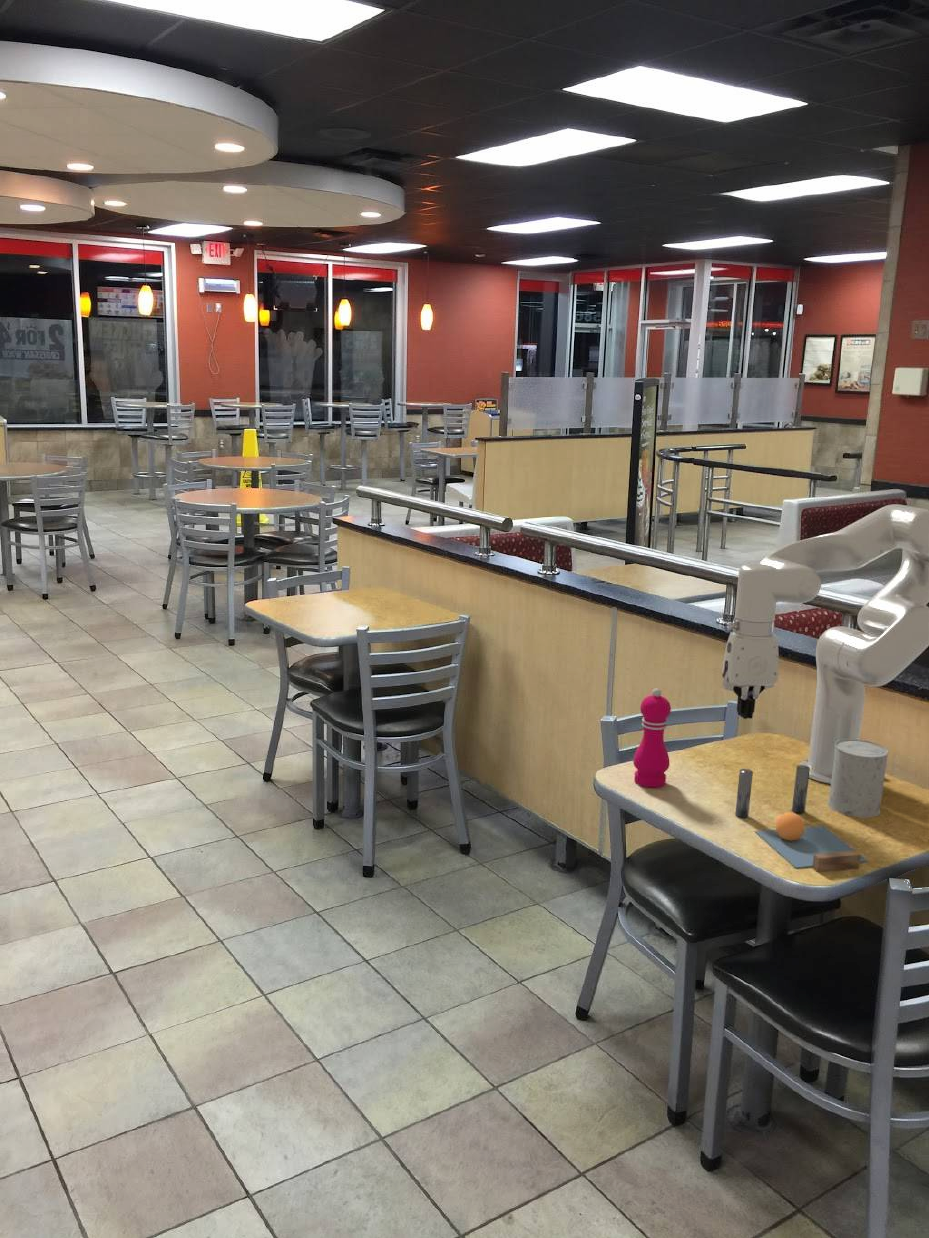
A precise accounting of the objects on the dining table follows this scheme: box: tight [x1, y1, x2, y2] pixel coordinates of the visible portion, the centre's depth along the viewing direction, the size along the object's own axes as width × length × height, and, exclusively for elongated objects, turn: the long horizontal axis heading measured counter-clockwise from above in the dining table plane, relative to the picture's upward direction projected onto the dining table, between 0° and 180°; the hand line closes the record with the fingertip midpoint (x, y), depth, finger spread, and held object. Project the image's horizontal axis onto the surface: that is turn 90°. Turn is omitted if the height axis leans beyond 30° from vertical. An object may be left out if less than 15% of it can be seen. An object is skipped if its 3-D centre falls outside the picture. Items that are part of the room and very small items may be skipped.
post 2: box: [791, 764, 810, 815], centre depth 194 cm, size 2×2×9 cm
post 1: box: [734, 768, 754, 819], centre depth 191 cm, size 2×2×9 cm
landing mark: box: [754, 825, 869, 869], centre depth 181 cm, size 14×14×1 cm
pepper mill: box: [633, 687, 672, 789], centre depth 205 cm, size 7×7×20 cm
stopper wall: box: [811, 850, 862, 873], centre depth 173 cm, size 8×2×2 cm, turn 103°
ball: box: [775, 812, 806, 841], centre depth 182 cm, size 5×5×5 cm
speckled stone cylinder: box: [827, 739, 889, 819], centre depth 196 cm, size 10×10×12 cm
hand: (744, 716), depth 202 cm, fingers closed
